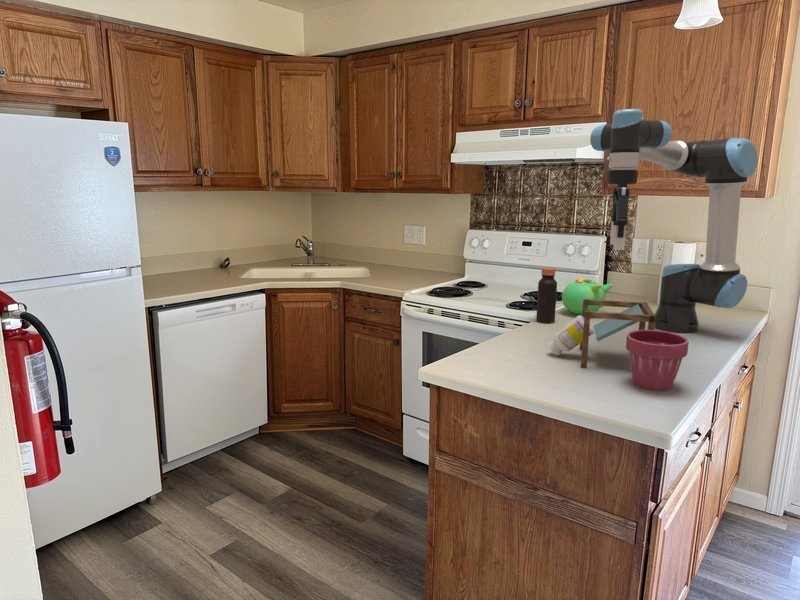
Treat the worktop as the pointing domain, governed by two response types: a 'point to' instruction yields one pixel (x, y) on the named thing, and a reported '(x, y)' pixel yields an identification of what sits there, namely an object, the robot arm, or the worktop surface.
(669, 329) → the robot arm
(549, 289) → the vinegar
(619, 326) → the trapdoor
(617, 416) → the worktop surface
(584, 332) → the frame
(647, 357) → the plant pot
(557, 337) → the supplement bottle
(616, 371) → the worktop surface
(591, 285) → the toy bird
